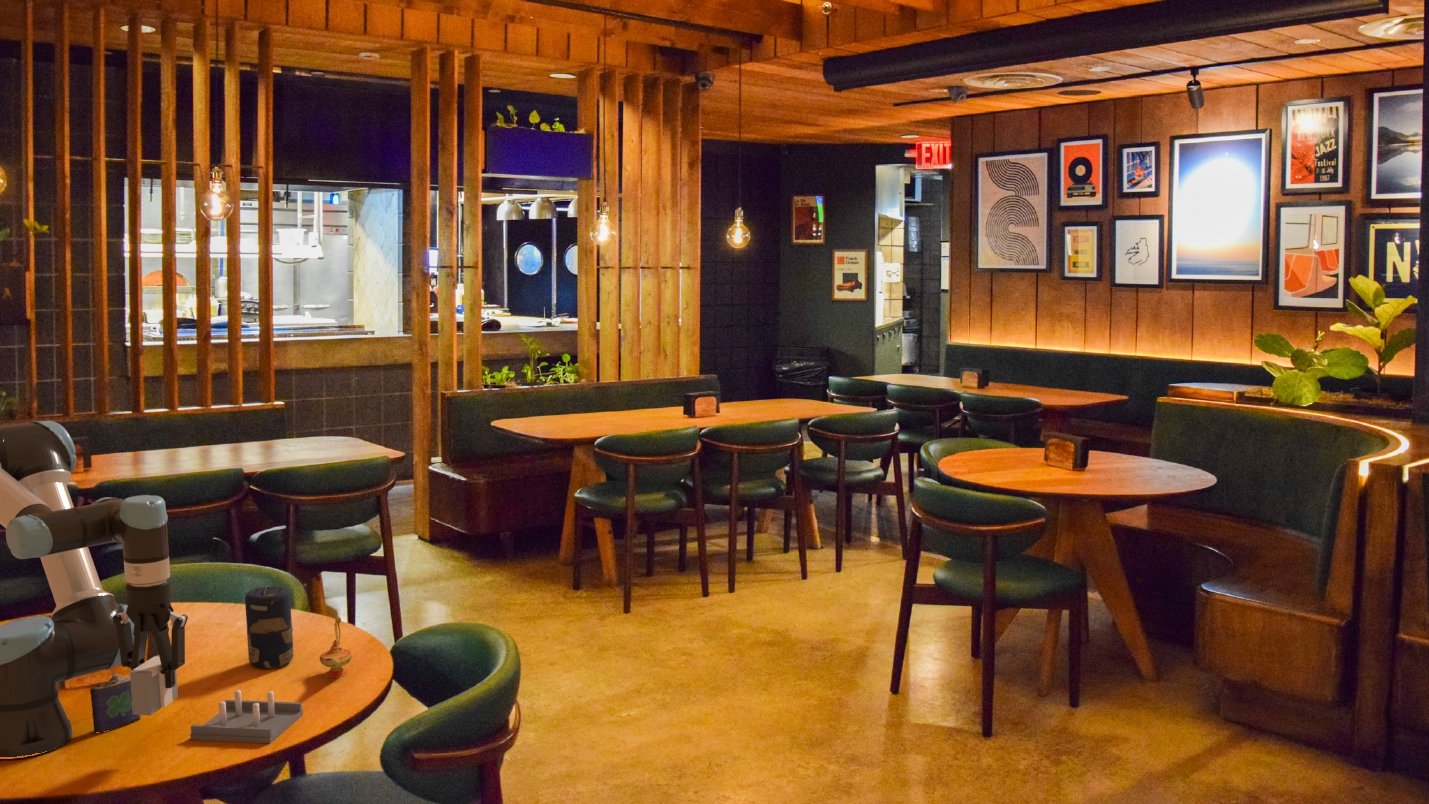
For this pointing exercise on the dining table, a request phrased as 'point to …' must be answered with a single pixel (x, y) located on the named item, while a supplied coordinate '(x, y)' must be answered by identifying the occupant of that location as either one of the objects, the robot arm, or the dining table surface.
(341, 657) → the magic lamp
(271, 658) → the canister
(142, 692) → the block
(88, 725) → the dining table surface
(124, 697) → the flask
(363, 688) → the dining table surface
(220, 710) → the grey pegged base
